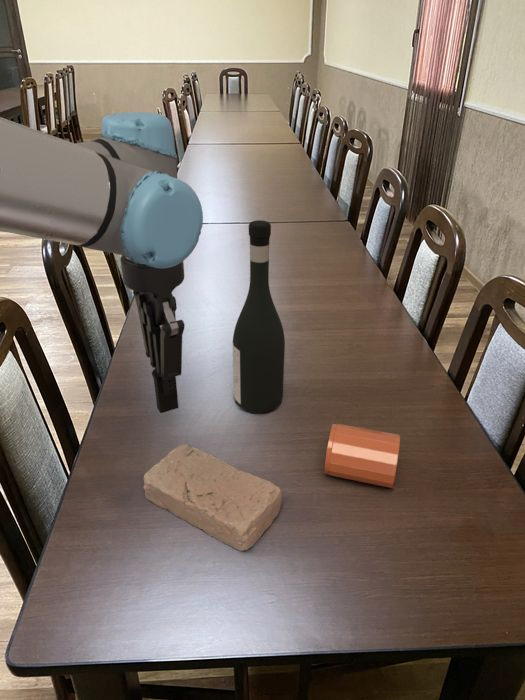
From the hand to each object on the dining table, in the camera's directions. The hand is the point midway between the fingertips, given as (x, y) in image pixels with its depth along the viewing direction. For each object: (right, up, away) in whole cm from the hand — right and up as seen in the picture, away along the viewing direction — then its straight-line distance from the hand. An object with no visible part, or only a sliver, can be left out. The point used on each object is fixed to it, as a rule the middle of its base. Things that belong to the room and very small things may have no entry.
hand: (167, 407), depth 77 cm
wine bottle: (+13, 0, +11) cm, 17 cm away
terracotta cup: (+23, -5, -4) cm, 24 cm away
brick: (+7, -12, -8) cm, 16 cm away
